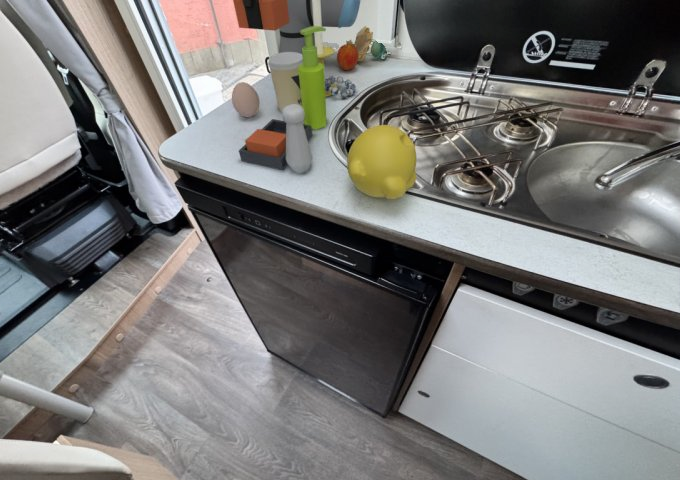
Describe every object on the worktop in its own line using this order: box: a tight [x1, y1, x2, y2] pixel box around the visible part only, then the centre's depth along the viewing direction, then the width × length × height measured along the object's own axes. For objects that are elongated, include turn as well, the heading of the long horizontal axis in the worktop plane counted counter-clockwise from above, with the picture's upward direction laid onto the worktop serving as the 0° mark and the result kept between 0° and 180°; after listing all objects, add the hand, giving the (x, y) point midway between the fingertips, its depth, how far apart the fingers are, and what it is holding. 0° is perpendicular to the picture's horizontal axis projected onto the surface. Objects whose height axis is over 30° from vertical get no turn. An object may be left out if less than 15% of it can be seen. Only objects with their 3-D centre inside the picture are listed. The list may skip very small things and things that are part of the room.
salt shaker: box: [281, 104, 313, 174], centre depth 61 cm, size 6×6×13 cm
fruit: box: [336, 40, 359, 72], centre depth 96 cm, size 7×7×8 cm
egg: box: [231, 81, 261, 118], centre depth 79 cm, size 7×7×8 cm
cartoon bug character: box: [346, 25, 392, 62], centre depth 101 cm, size 10×18×15 cm
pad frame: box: [238, 118, 313, 171], centre depth 70 cm, size 16×11×3 cm
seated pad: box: [244, 128, 286, 157], centre depth 67 cm, size 6×8×4 cm
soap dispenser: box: [298, 26, 328, 130], centre depth 70 cm, size 6×7×20 cm
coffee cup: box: [267, 52, 303, 112], centre depth 80 cm, size 9×9×12 cm
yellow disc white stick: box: [312, 0, 339, 98], centre depth 79 cm, size 10×10×27 cm
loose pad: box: [232, 0, 289, 32], centre depth 55 cm, size 6×8×4 cm
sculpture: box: [346, 124, 418, 200], centre depth 55 cm, size 15×13×13 cm
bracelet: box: [324, 75, 357, 98], centre depth 87 cm, size 10×10×2 cm
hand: (264, 23), depth 56 cm, fingers closed on loose pad, 5 cm apart
